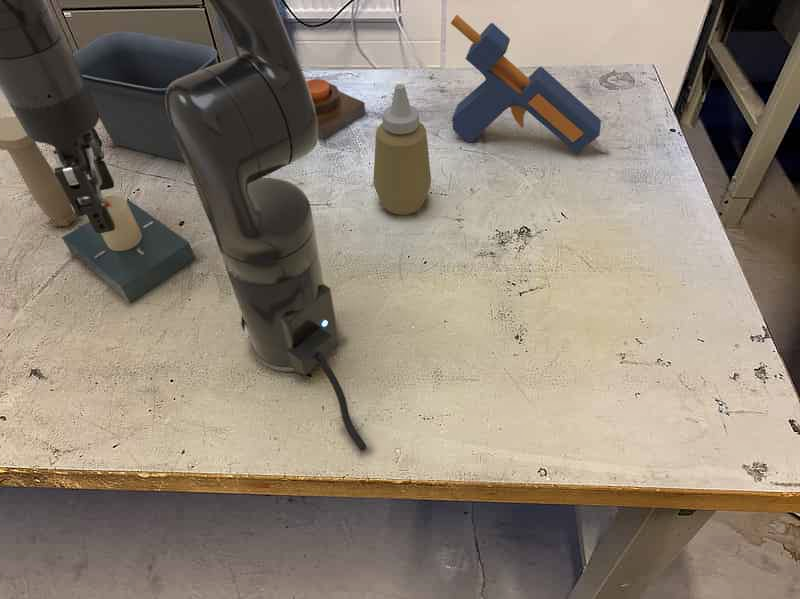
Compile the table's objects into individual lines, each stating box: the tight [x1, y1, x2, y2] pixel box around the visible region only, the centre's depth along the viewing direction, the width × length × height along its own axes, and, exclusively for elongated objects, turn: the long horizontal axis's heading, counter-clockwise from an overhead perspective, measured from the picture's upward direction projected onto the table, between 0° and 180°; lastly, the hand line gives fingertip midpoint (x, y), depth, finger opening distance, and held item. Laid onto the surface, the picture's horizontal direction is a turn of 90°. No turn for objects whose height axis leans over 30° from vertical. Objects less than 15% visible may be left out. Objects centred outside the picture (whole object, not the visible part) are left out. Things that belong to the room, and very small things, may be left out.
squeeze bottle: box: [372, 83, 432, 216], centre depth 79 cm, size 8×8×18 cm
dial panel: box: [61, 199, 196, 304], centre depth 78 cm, size 14×10×3 cm
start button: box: [306, 78, 330, 102], centre depth 98 cm, size 4×4×2 cm
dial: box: [101, 195, 142, 251], centre depth 75 cm, size 4×4×6 cm
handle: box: [0, 116, 77, 228], centre depth 79 cm, size 5×6×15 cm
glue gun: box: [450, 14, 607, 154], centre depth 92 cm, size 6×31×15 cm
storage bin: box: [72, 31, 219, 163], centre depth 92 cm, size 21×16×14 cm
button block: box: [313, 82, 366, 141], centre depth 100 cm, size 12×10×4 cm
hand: (106, 208), depth 73 cm, fingers open, 8 cm apart
